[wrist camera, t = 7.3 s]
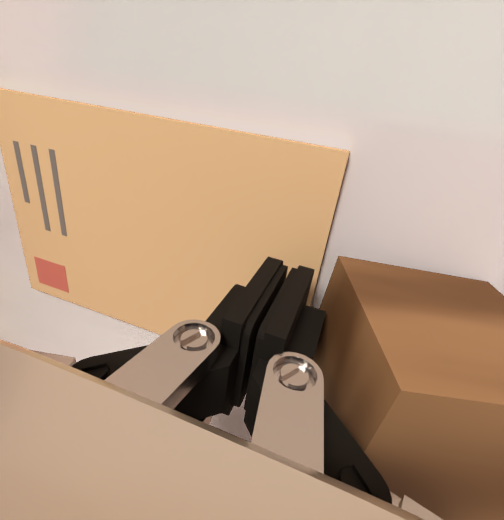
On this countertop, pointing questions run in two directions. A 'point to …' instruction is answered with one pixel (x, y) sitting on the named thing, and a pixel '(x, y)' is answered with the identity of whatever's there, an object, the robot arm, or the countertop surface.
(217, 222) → the letter
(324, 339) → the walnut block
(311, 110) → the countertop surface
